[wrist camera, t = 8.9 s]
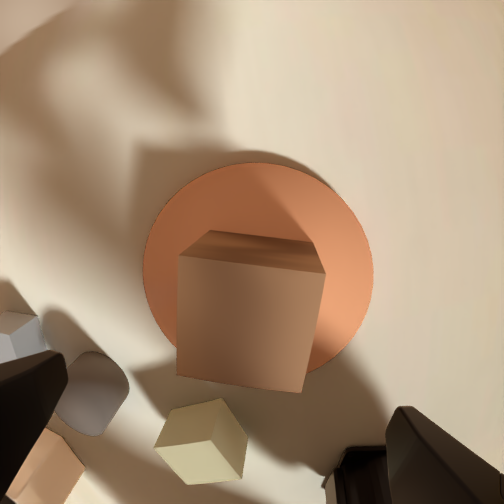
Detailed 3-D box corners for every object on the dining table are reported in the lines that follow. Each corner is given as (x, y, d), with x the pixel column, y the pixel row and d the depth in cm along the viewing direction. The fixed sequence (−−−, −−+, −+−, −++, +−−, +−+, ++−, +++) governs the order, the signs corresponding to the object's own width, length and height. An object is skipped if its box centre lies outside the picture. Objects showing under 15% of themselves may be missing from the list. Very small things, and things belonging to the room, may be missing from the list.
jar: (30, 406, 22) (-40, 482, 11) (95, 462, 23) (43, 551, 11) (14, 433, 24) (-40, 495, 13) (68, 480, 25) (24, 549, 14)
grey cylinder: (126, 359, 19) (98, 394, 15) (132, 408, 20) (110, 443, 16) (72, 344, 20) (41, 373, 16) (82, 392, 21) (56, 422, 17)
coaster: (386, 181, 15) (391, 181, 14) (343, 383, 18) (344, 391, 17) (154, 155, 16) (148, 154, 15) (150, 356, 19) (145, 363, 18)
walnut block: (313, 242, 15) (326, 274, 11) (297, 334, 17) (301, 392, 12) (209, 229, 16) (178, 255, 11) (204, 322, 17) (176, 374, 12)
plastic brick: (38, 315, 19) (9, 335, 16) (56, 372, 21) (32, 396, 17) (6, 310, 20) (-22, 327, 16) (24, 363, 21) (0, 384, 18)
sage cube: (222, 397, 19) (210, 440, 15) (248, 436, 20) (241, 479, 16) (171, 408, 20) (153, 447, 16) (199, 445, 21) (187, 484, 17)
